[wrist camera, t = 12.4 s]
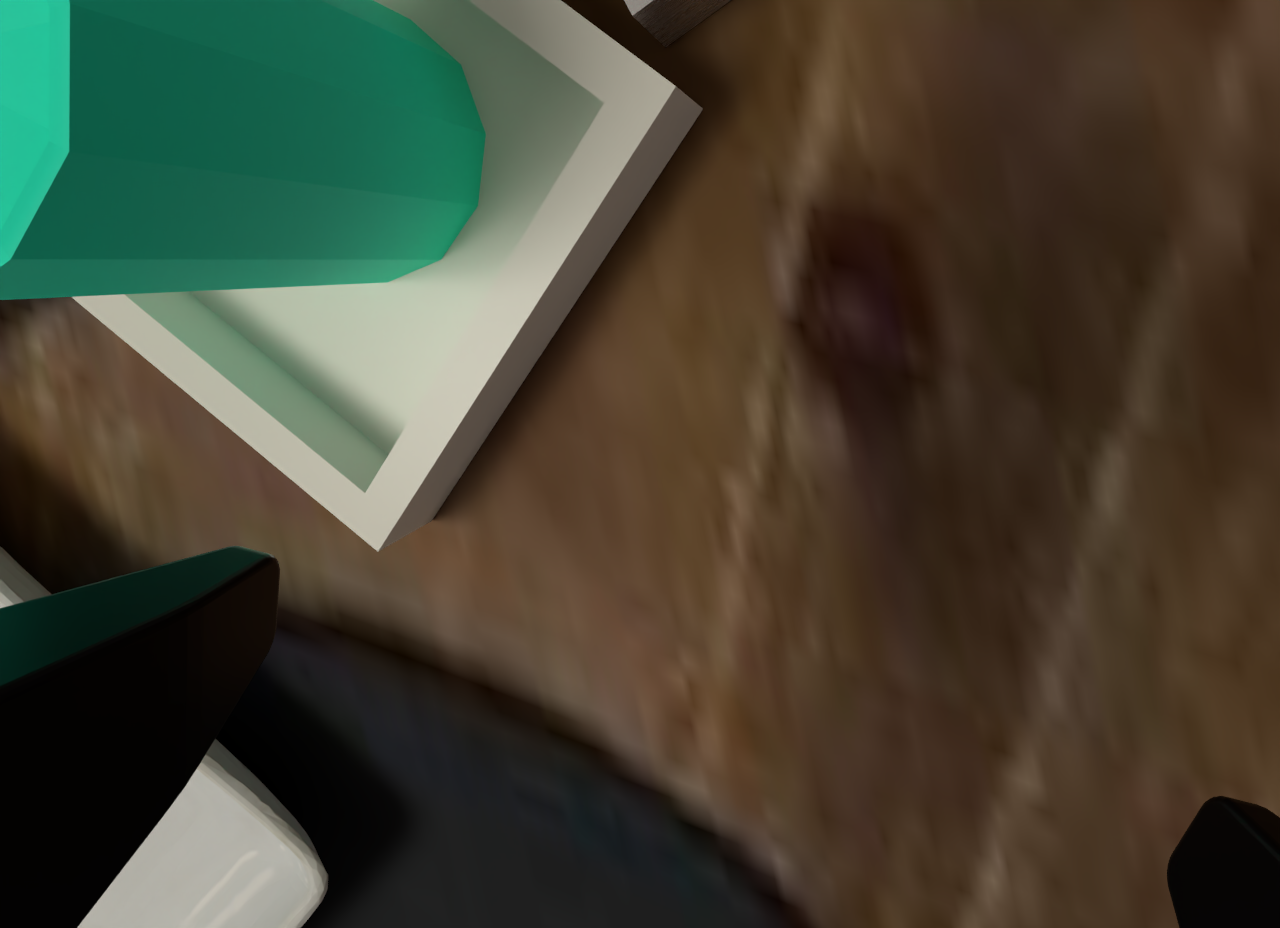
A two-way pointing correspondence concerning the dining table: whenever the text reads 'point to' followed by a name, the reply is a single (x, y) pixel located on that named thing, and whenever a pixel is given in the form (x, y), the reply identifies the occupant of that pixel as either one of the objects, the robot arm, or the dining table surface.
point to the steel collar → (672, 16)
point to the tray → (434, 279)
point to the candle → (226, 146)
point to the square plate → (206, 844)
